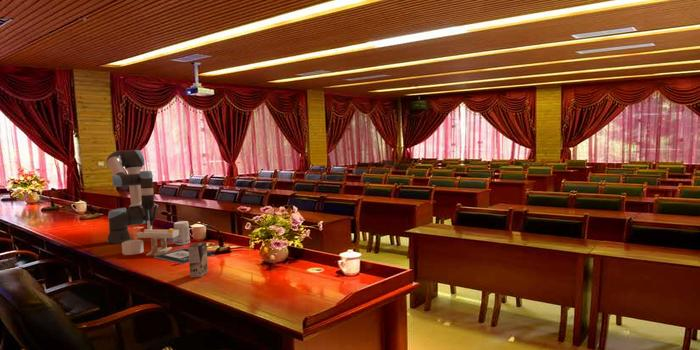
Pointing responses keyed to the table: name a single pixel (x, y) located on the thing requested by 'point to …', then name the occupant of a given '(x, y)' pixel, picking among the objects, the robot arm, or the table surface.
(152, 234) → the seesaw chute
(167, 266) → the table surface
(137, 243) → the cup
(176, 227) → the supplement tub
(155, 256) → the sketchbook
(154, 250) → the chute stand
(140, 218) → the robot arm
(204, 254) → the coffee box
